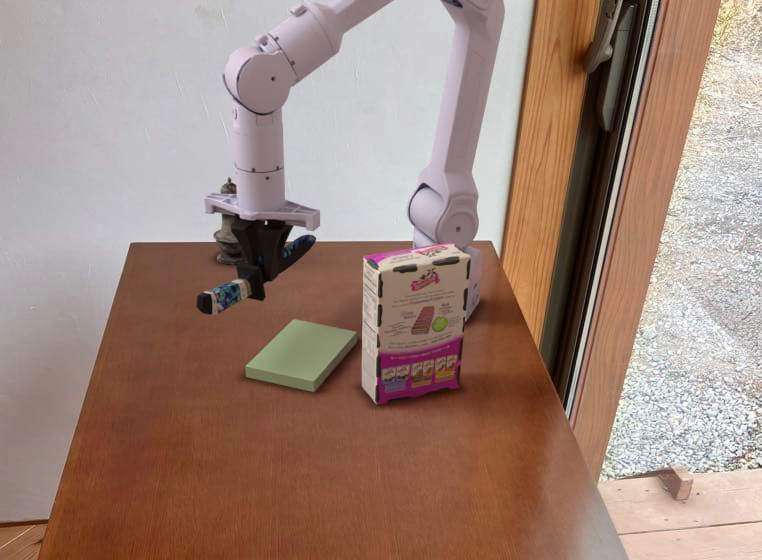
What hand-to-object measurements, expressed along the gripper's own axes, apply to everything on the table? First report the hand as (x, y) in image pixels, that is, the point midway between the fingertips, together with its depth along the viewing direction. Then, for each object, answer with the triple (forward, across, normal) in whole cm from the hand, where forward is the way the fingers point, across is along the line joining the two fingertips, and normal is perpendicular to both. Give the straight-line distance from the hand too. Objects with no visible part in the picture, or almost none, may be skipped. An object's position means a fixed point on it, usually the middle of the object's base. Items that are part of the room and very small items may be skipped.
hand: (264, 277), depth 112 cm
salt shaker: (+8, -15, +20) cm, 27 cm away
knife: (+2, 0, 0) cm, 2 cm away
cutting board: (+8, +7, -5) cm, 12 cm away
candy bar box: (+8, +22, -6) cm, 24 cm away
